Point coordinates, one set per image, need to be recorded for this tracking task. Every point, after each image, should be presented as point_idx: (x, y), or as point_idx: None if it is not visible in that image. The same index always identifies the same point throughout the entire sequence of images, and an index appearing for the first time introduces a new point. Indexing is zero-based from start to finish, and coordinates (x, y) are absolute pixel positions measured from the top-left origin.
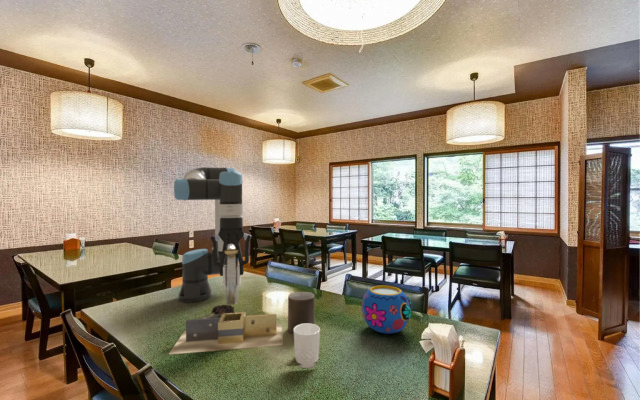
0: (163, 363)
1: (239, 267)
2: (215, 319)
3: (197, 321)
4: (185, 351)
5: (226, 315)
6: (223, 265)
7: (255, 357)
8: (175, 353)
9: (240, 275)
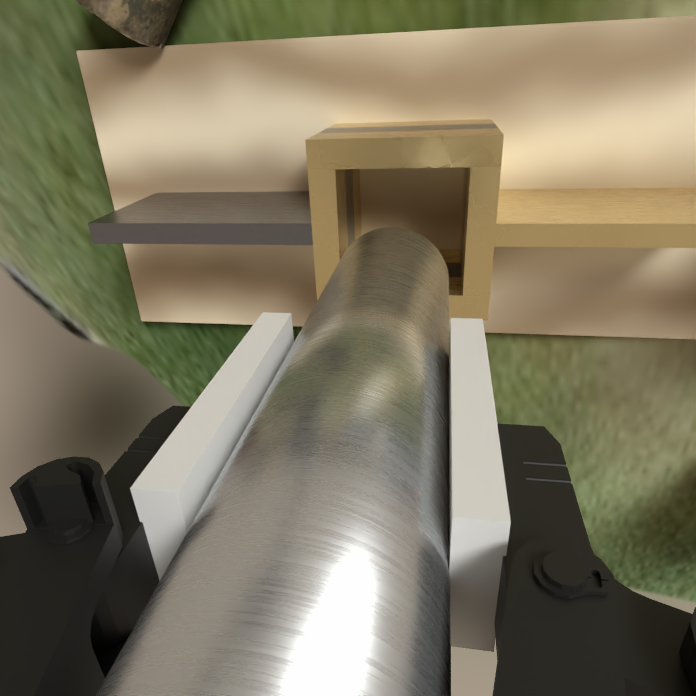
0: (152, 347)
1: (491, 630)
2: (282, 243)
3: (168, 241)
4: (204, 310)
5: (345, 167)
6: (147, 597)
7: (541, 379)
8: (168, 318)
9: (489, 390)
